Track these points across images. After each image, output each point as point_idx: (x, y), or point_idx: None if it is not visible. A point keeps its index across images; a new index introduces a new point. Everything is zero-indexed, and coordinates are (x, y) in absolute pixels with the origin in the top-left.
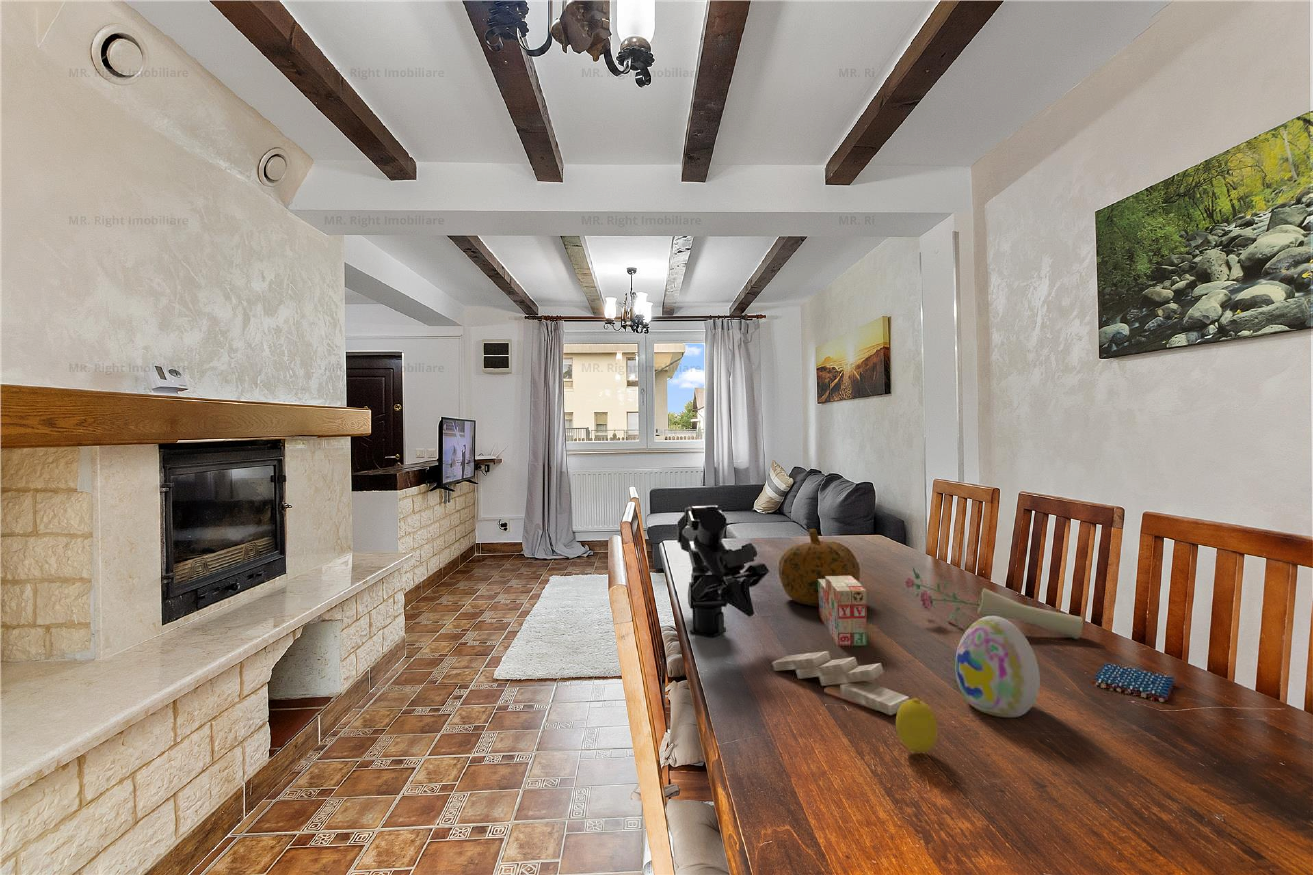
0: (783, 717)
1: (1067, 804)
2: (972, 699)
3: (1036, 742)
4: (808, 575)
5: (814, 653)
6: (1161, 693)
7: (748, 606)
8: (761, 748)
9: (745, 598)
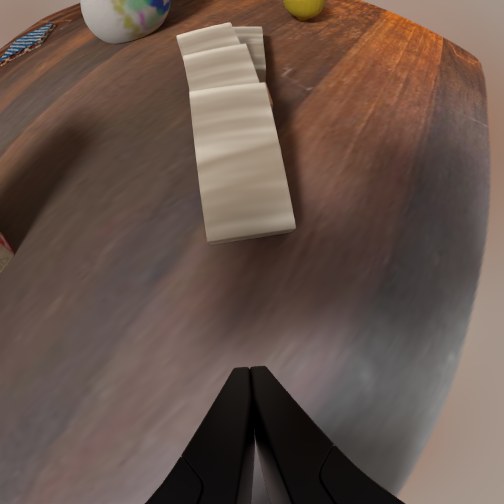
0: (399, 106)
1: None
2: (165, 15)
3: (190, 4)
4: None
5: (205, 122)
6: (51, 23)
7: (270, 400)
8: (451, 95)
9: (244, 480)
